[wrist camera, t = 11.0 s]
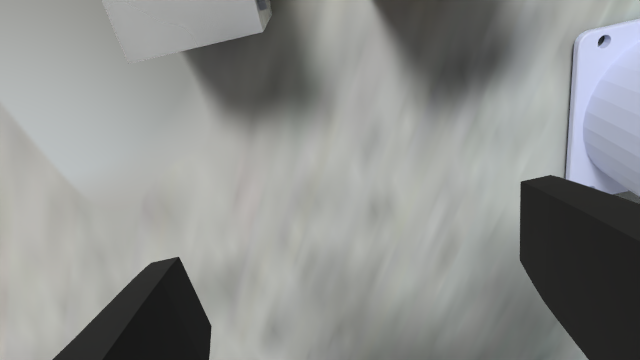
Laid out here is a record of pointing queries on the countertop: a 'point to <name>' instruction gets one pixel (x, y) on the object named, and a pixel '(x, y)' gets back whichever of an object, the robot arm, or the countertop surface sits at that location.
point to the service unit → (182, 24)
